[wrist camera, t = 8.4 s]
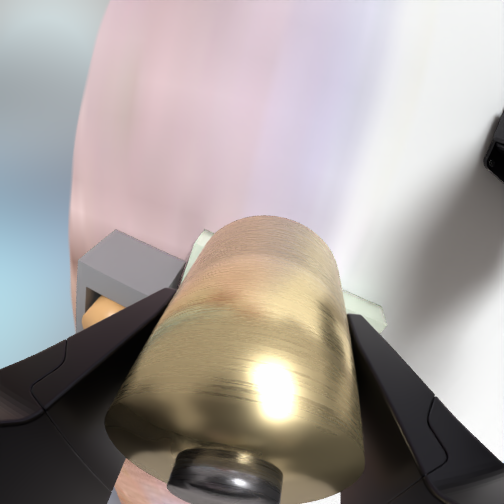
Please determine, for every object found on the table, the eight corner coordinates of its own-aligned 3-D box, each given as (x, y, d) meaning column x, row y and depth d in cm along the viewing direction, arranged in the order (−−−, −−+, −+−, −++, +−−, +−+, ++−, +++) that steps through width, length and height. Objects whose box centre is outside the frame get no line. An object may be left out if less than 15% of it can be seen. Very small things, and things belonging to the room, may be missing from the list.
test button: (153, 292, 21) (129, 327, 18) (145, 325, 23) (123, 360, 19) (111, 271, 21) (82, 302, 17) (106, 306, 23) (81, 337, 19)
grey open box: (185, 261, 22) (159, 301, 18) (163, 333, 26) (141, 373, 21) (115, 229, 22) (78, 260, 17) (104, 304, 25) (76, 338, 21)
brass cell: (353, 227, 8) (423, 456, 2) (322, 344, 10) (321, 532, 4) (197, 207, 9) (46, 389, 3) (198, 326, 11) (127, 497, 5)
